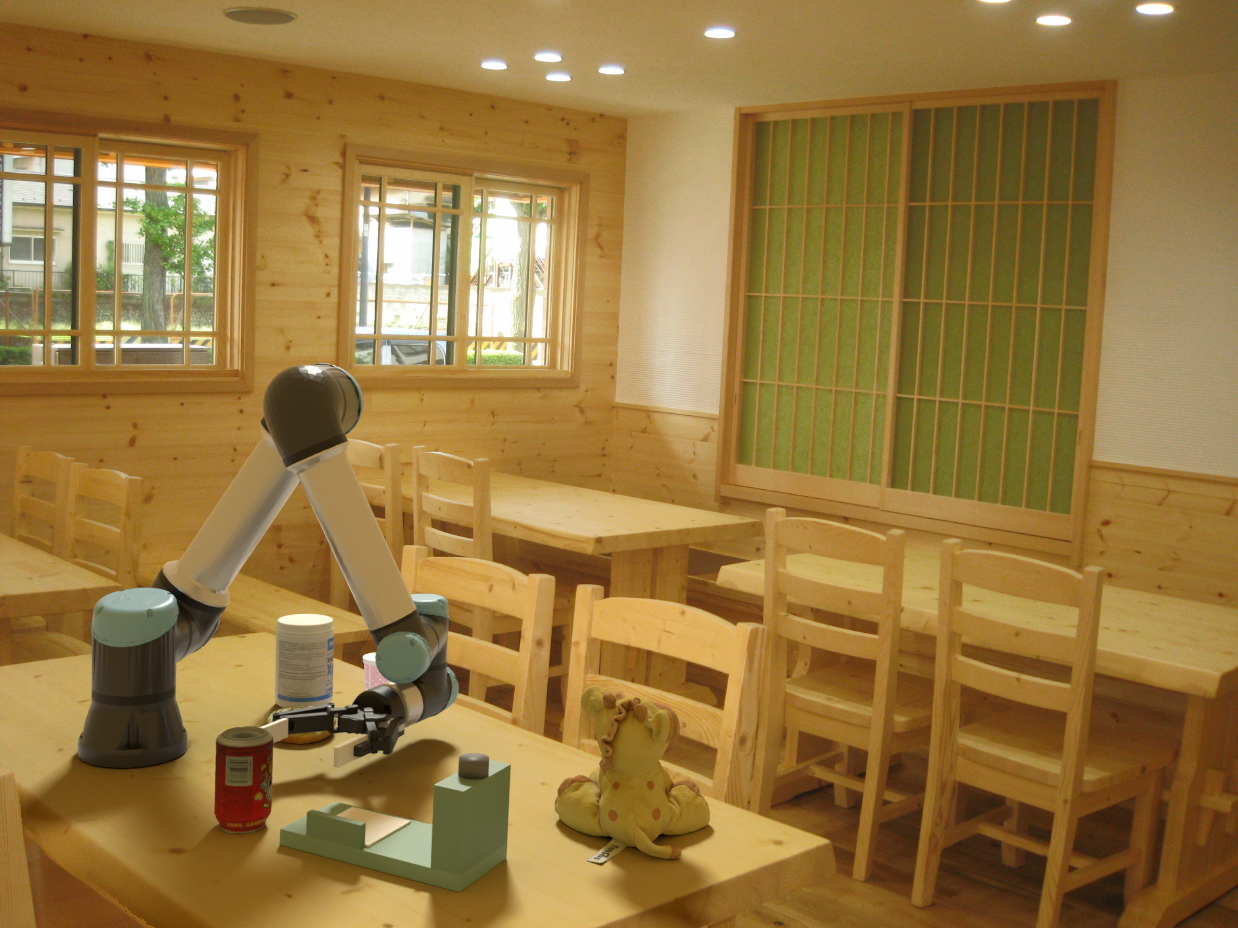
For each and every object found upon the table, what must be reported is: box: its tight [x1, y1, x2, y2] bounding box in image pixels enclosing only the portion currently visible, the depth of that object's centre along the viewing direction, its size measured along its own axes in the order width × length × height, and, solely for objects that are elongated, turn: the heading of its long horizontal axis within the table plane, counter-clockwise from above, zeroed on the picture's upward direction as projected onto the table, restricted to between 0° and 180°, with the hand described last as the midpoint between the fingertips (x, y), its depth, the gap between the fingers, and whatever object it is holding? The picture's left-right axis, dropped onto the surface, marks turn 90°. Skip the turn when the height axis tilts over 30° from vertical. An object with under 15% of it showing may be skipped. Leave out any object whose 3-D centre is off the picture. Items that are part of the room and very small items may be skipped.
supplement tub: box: [274, 613, 335, 709], centre depth 213 cm, size 10×10×15 cm
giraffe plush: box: [554, 685, 711, 864], centre depth 165 cm, size 20×24×19 cm
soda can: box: [213, 725, 274, 834], centre depth 161 cm, size 7×7×12 cm
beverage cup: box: [362, 652, 389, 691], centre depth 213 cm, size 6×6×14 cm
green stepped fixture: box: [279, 752, 512, 893], centre depth 155 cm, size 26×11×14 cm, turn 65°
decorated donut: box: [266, 706, 337, 745], centre depth 198 cm, size 10×11×4 cm
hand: (294, 748), depth 169 cm, fingers open, 13 cm apart
